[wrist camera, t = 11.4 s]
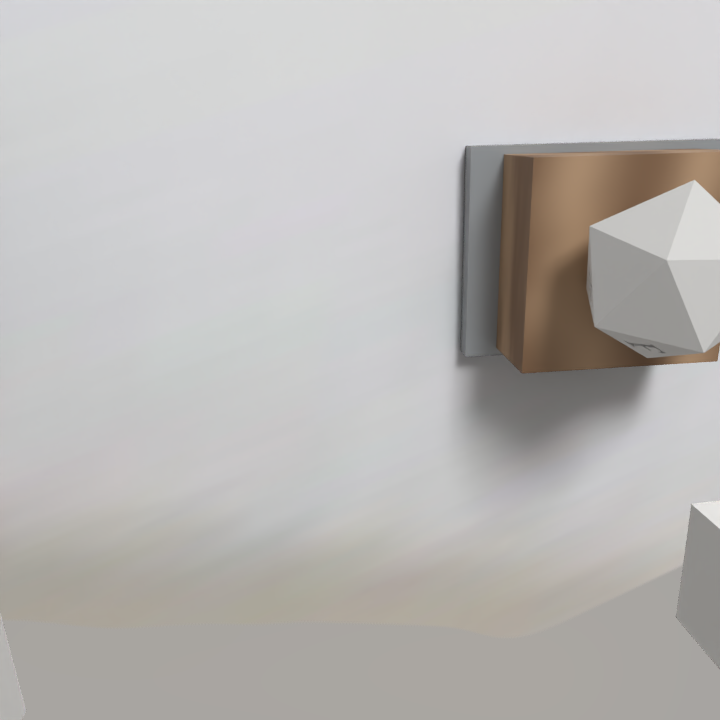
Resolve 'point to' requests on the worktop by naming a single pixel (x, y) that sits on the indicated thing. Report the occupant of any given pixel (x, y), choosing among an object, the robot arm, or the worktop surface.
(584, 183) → the walnut brick
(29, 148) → the worktop surface
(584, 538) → the worktop surface
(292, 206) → the worktop surface
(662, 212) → the die
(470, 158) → the base plate
